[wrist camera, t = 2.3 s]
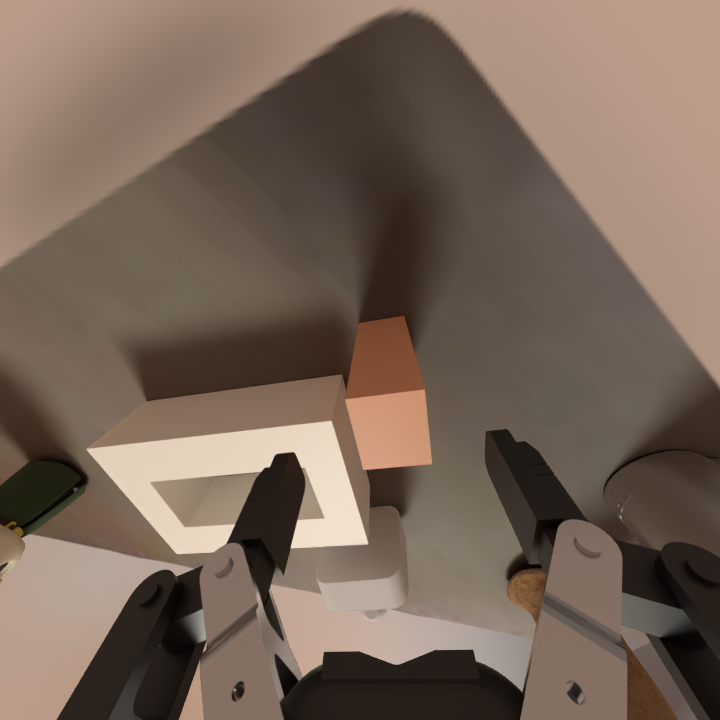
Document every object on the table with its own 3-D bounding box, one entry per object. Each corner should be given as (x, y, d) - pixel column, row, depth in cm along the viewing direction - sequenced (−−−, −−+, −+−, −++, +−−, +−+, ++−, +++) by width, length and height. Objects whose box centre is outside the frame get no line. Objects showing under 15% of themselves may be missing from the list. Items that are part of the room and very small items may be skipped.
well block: (341, 374, 23) (331, 420, 18) (370, 485, 29) (368, 544, 24) (146, 401, 26) (85, 449, 20) (210, 498, 32) (176, 554, 27)
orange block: (404, 315, 20) (424, 389, 12) (410, 367, 22) (431, 464, 14) (358, 323, 21) (344, 399, 12) (368, 373, 23) (363, 470, 14)
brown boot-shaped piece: (496, 599, 39) (557, 796, 26) (509, 553, 34) (596, 770, 20) (609, 602, 38) (736, 811, 24) (642, 554, 32) (828, 788, 19)
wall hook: (355, 566, 36) (341, 667, 26) (334, 500, 34) (311, 584, 24) (416, 560, 35) (425, 664, 25) (398, 492, 32) (400, 576, 23)
